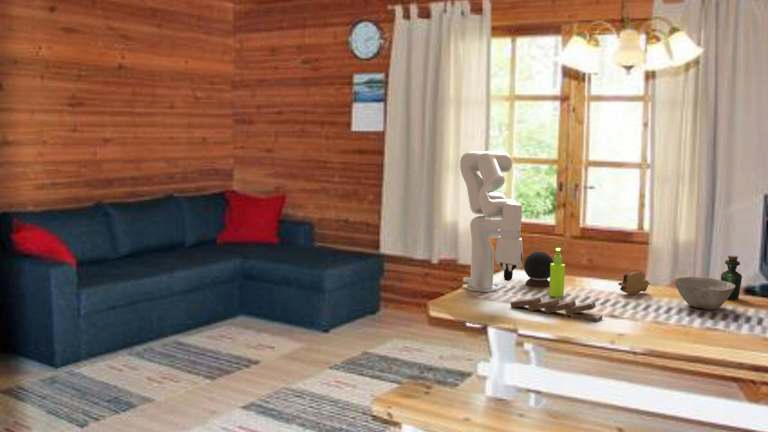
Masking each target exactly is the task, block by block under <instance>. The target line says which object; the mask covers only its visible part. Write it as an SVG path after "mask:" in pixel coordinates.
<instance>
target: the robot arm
mask: <svg viewBox="0 0 768 432" xmlns="http://www.w3.org/2000/svg"><path fill="white" fill-rule="evenodd" d="M459 163H460V164H459V165H460V166H459V168H460V172H461V176H462V178H463V180H464V182H465V186H466V189H467V195H468V202H469V207H470V210H471V212H472V214H474V215H476V216H475V217H473V218H472V219H471V221H470V223H469V224H470V225H469V228H470V229H469V230H470V235H471V236H470V237H471V257H470V258H471V259H470V260H471V261H470V262H471V263H470V277H466V276H465V277H464V276H463V278H462V283H467V285H466V289H467V290H469V291H471V292H478V293H491V292H496V291H497V286H496V285H494V266H495V264H497V265H499V266H500V267H501V268H502V270H503V278H504V280H503V281H505V282H509V281H512V279H513V271H514V270H515V269H516V268H519V269H520V268H521V267H523V263H522V262H523V259H524V247H523V239H522V238H521V233H522V231H521V229H522V215H523V214H522V213H523V206H522V204H521V203H519V202H517V200H514V199H511V198H506V196H505V194H503V193H501V192H496V191H497V190H499V189H500V188H502V187H503V186H504V185H505V181H506V180H505V176H504V173H508V172H510V171H511V169H512V166H513V161H512V158H511V156H510V155H509V153H507V152H503V151H469V152H466V153H463V154H462V155H461V157H460V161H459ZM478 172H479V173H480V174H479V173H478ZM477 215H479V216H477ZM490 239H497V241H496V246H495V248H494V245H493V244H492V242H491V240H490ZM494 262H495V263H494Z"/></svg>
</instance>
